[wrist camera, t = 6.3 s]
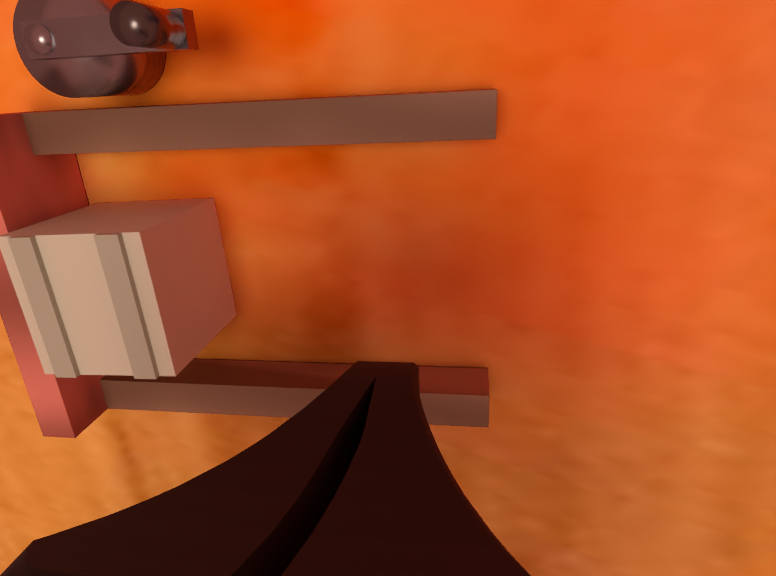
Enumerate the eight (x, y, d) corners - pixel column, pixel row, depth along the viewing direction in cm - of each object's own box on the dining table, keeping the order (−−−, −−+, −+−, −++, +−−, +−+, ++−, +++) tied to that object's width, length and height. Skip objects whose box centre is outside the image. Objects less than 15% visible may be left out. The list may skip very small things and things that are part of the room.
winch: (249, 88, 18) (161, 93, 13) (94, 97, 19) (-46, 103, 14) (235, -15, 17) (132, -56, 12) (70, -1, 18) (-92, -33, 13)
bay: (486, 397, 22) (490, 462, 18) (108, 382, 24) (43, 436, 21) (494, 88, 17) (501, 91, 14) (31, 111, 20) (-69, 119, 16)
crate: (237, 314, 22) (172, 379, 17) (130, 315, 23) (40, 377, 18) (214, 197, 20) (135, 233, 15) (99, 202, 21) (-10, 238, 16)
